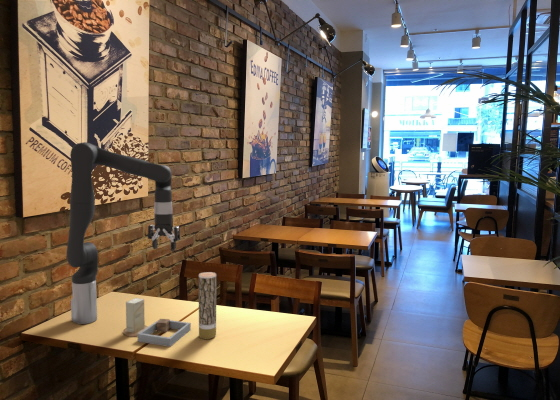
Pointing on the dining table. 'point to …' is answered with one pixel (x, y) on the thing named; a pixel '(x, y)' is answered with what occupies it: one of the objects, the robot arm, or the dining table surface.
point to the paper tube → (207, 305)
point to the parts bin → (160, 340)
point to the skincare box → (135, 315)
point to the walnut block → (163, 325)
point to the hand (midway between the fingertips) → (164, 249)
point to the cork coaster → (132, 333)
